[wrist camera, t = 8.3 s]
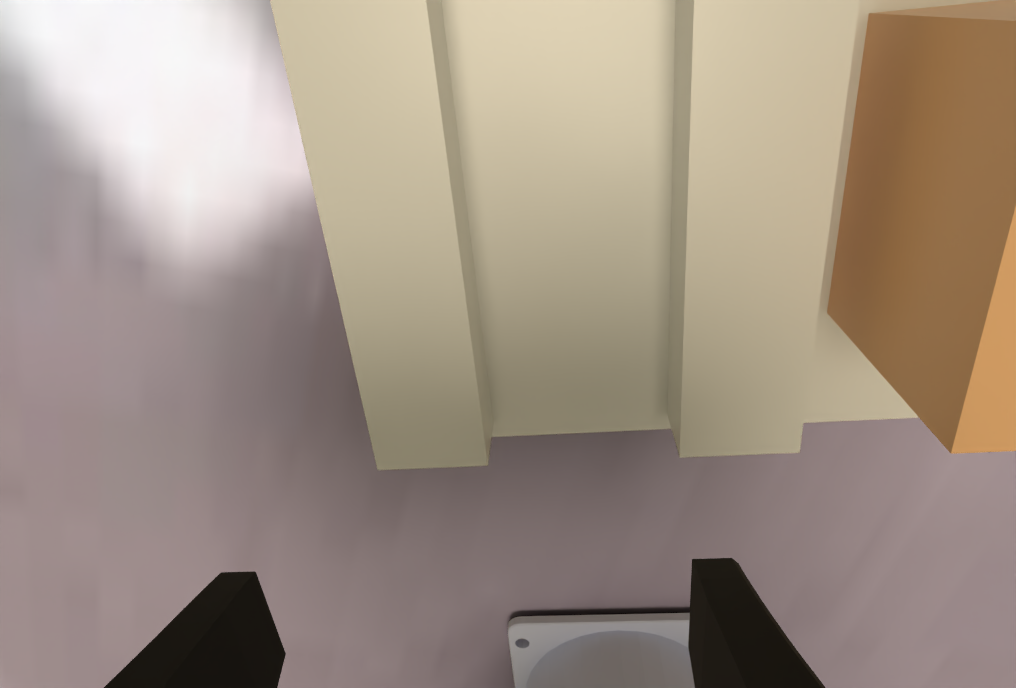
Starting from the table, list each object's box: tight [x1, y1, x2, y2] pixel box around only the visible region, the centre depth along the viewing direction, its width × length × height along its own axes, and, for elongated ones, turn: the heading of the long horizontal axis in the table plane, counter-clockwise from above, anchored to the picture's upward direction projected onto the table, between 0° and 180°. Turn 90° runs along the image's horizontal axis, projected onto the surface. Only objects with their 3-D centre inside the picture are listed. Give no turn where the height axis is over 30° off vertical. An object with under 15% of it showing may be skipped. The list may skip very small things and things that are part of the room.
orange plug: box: [827, 0, 1016, 453], centre depth 13 cm, size 7×3×6 cm, turn 5°
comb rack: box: [270, 0, 998, 470], centre depth 15 cm, size 13×27×3 cm, turn 95°
